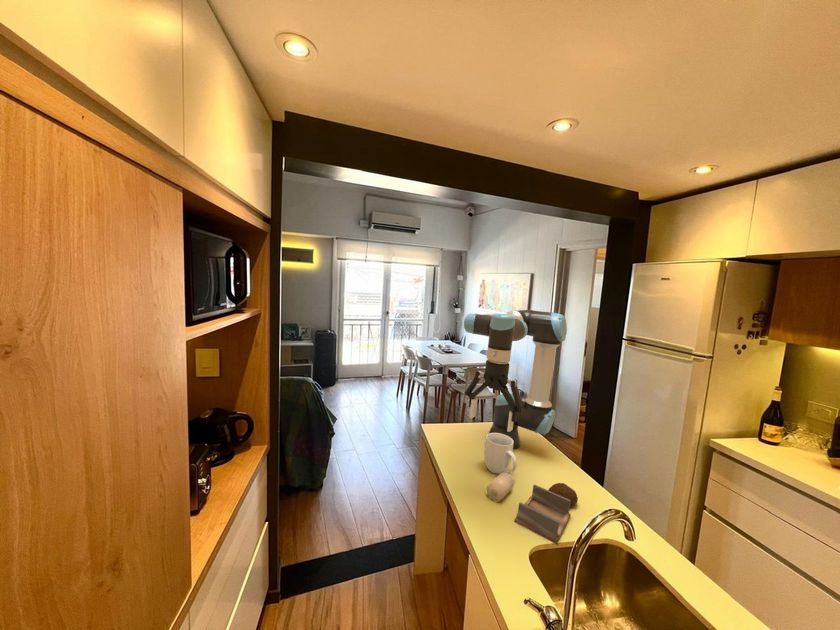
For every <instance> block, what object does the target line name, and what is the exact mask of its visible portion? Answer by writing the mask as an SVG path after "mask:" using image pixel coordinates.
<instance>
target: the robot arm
mask: <svg viewBox="0 0 840 630" xmlns="http://www.w3.org/2000/svg"><path fill="white" fill-rule="evenodd" d="M463 321H464V322H463V329H464V331H465V332H466V333H470V334H472V335H479V336H484V337H488V344H487V350H486V361H485V369H484V372H483V371H482V370H477V371H476V372H475V375H474V378H473V380H471V382H470V384H469V386H468V387H467V389H466V390H465V391H464V395H465V396H467V397H468V398H469V399H468V408H470V409H469V419H473V418H475V417H476V413H477V403H478V397H477V396H478V395H479V394H480V393H482V392H483V391H484V390H485V389H486V388H489V389H492V390H495V391H499V392H500V394H499V395H497V396H496V398H495V403H494V412H493V418H492V421H493V422H492V425H491V427H490V429H489V431H488V434H489V433H500V434H504V435H506V436H509V437H510V438H511V439H512V440H513V442H514V443H513V450H516V449H518V448H520V446H521V444H520V443H521V440H520V434H519V427H520V428H522V429H526V430H527V431H531V432H533V433H536V434H540V435H547V434H548V433H549V432H550V430H551V429H552V426H553V424H554V421H555V417H556V411H555V410H554V409H552V408H553V404H552V402H550V394H551V388H552V387H551V386H552V379H553V372H554V366H555V365H554V364H555V358H556V351H557V348H558V347H559V346H561V342H564V341H565V340H566V338H567V337H566V336H567V331H568V329H567V328H568V327H567V325H568V324H567V320H566V317H565V316H564V315H563V314H562V313H561V314H560V313H557V312H551V311H550V312H549V311H539V310H532V309H522V310H521V309H520V310H511V311H508V312H506V313H491V314H490V313H487V314H481V313H480V314H479V313H473V312H472V313H471V312H469V313H467V314H466V316H465V317H464V320H463ZM526 336H529V337H532V343H533V344H534V345H535V347H534V356H533V360H532V361H533V362H532V371H531V378H530V379H531V380H530V386H529V391H528V392H529V393H528V397H525V399H524V400H523V398H522V396H521V394H520V391H519V388H518V380H517V379H509V374H510V372H509V371H510V363H509V362H510V361H511V355H512V347H513V342H517V341H520V340H523V339H524V338H525V337H526ZM482 378H483V379H484V381H483V383H482V384H481V385H480V386H479V387H477V388H476V386H477V385H478V383H479V382H480V380H481V379H482ZM507 385H509V387H510V390H511V393H510V390H509V388H508V386H507ZM475 388H476V389H475Z"/></svg>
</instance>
